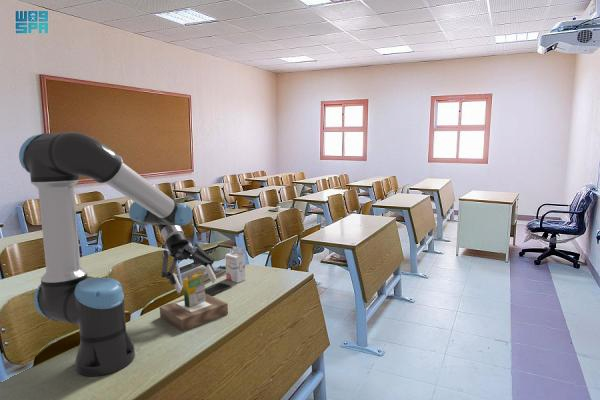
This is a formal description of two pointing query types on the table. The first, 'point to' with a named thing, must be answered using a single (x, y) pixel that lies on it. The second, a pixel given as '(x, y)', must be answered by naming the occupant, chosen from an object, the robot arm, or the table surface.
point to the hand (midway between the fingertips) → (198, 286)
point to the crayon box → (194, 289)
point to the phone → (217, 289)
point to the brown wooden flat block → (193, 312)
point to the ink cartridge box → (235, 265)
